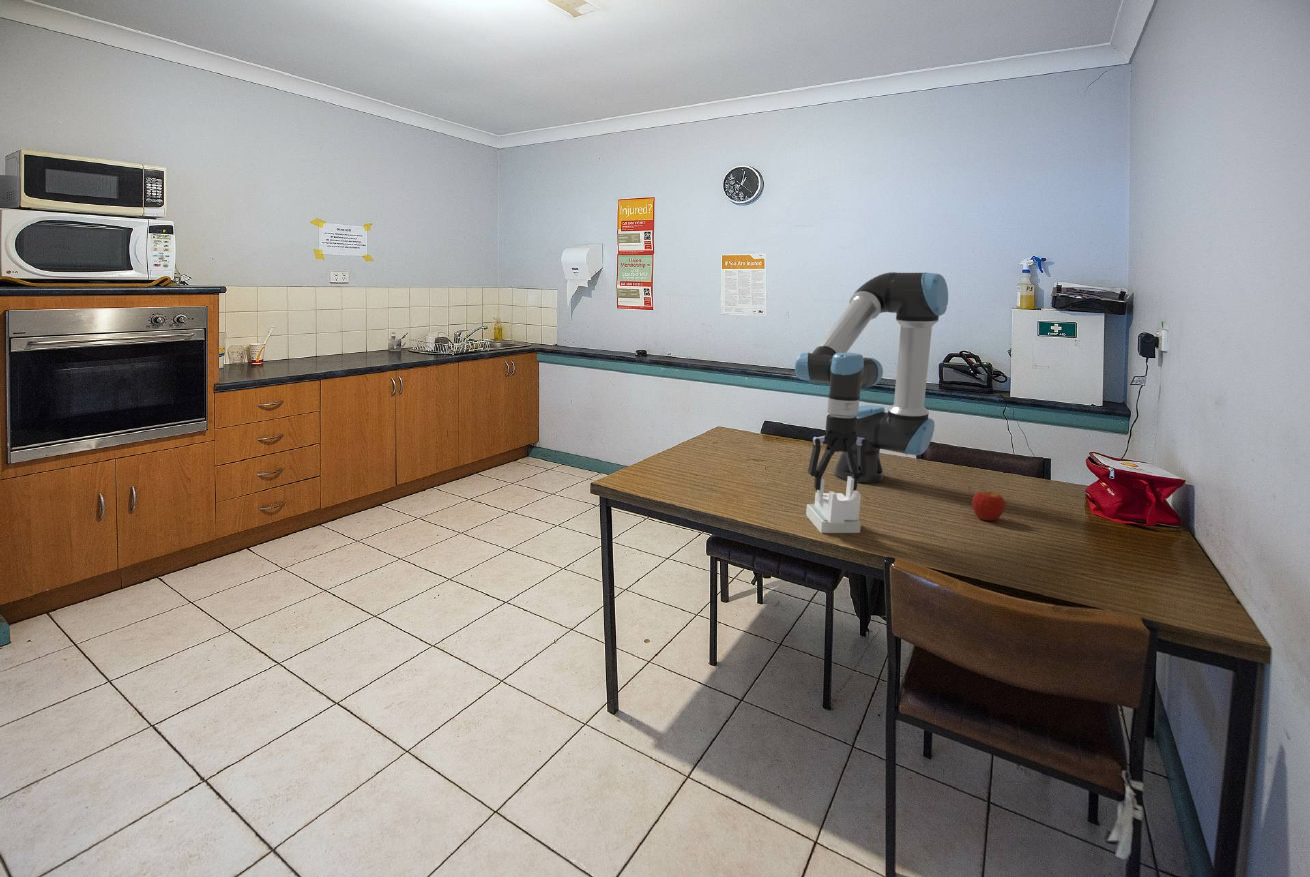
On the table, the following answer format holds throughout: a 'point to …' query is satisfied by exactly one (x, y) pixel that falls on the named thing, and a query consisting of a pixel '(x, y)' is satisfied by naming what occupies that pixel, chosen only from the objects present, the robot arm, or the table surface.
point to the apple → (988, 505)
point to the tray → (827, 527)
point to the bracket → (839, 506)
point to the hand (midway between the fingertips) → (833, 501)
